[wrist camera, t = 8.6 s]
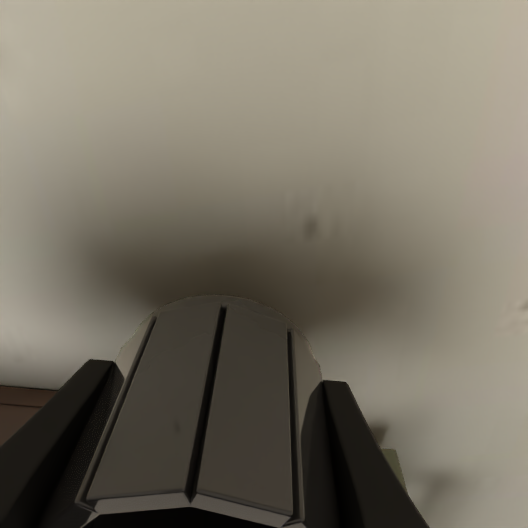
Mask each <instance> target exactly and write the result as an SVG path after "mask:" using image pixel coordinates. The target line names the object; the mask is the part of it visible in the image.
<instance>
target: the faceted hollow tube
mask: <svg viewBox="0 0 528 528" xmlns="http://www.w3.org/2000/svg"><path fill="white" fill-rule="evenodd" d="M37 528H341V524H340V516H339V508H338V500H337V492H336V484H335V477H334V469H333V461H332V453H331V445H330V439H329V433H328V427H327V419H326V411H325V403H324V395H323V387H322V375H321V371H320V365H319V364H318V363H317V361H316V360H315V358H314V356H313V353H312V349H311V347H310V345H309V343H308V341H307V339H306V338H305V336H304V335H303V333H302V332H301V331H300V329H299V328H298V327H297V326H296V325H295V324H294V323H293V322H292V321H290V320H289V319H288V318H286V317H285V316H284V315H283V314H281V313H279V312H278V311H276V310H274V309H273V308H270V307H268V306H266V305H264V304H262V303H259V302H256V301H253V300H250V299H246V298H241V297H237V296H229V295H199V296H192V297H188V298H183V299H180V300H177V301H174V302H171V303H169V304H167V305H165V306H163V307H161V308H159V309H158V310H156V311H155V312H153V313H152V314H150V315H149V316H148V317H147V318H146V319H145V320H144V321H143V322H142V323H141V324H140V326H139V327H138V328H137V330H136V331H135V333H134V335H133V336H132V337H131V338H130V339H129V340H128V341H127V342H126V343H125V345H124V346H123V347H122V348H121V350H120V352H119V354H118V356H117V358H116V360H115V362H114V364H113V367H112V369H111V371H110V373H109V375H108V377H107V379H106V381H105V384H104V386H103V388H102V390H101V392H100V394H99V396H98V398H97V401H96V403H95V405H94V407H93V409H92V411H91V413H90V415H89V418H88V420H87V422H86V424H85V426H84V428H83V430H82V432H81V435H80V437H79V439H78V441H77V443H76V445H75V447H74V449H73V452H72V454H71V456H70V458H69V460H68V462H67V464H66V466H65V469H64V471H63V473H62V475H61V477H60V479H59V481H58V483H57V486H56V488H55V490H54V492H53V494H52V496H51V498H50V500H49V503H48V505H47V507H46V509H45V511H44V513H43V515H42V517H41V520H40V522H39V524H38V526H37Z"/></svg>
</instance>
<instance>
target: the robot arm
mask: <svg viewBox="0 0 528 528" xmlns="http://www.w3.org/2000/svg"><path fill="white" fill-rule="evenodd" d="M113 364H114V362H113V361H104V360H93V359H90V360H88V361H87V362H86V363H85V364H84V365H83V366H82V367H81V368H80V369H79V370H78V371H77V372H76V373H75V374H74V375H73V376H72V377H71V378H70V379H69V380H68V381H67V382H66V383H65V384H64V386H63V387H62V388H61V389H60V390H59V391H58V392H57V393H56V394H55V395H54V396H53V397H52V398H51V399H50V400H49V401H48V402H47V403H46V404H45V405H44V406H43V407H42V408H40V409H39V410H38V411H37V412H36V413H35V414H34V415H33V416H32V417H31V418H30V419H29V420H28V421H27V422H26V423H25V424H24V425H23V426H22V427H21V428H20V429H19V430H18V431H16V432H15V433H14V434H13V435H12V436H11V437H10V438H9V439H8V440H7V441H5V442H4V443H3V444H2V445H1V446H0V528H37V526H38V524H39V522H40V520H41V517H42V515H43V513H44V511H45V509H46V507H47V505H48V503H49V500H50V498H51V496H52V494H53V492H54V490H55V488H56V486H57V483H58V481H59V479H60V477H61V475H62V473H63V471H64V469H65V466H66V464H67V462H68V460H69V458H70V456H71V454H72V452H73V449H74V447H75V445H76V443H77V441H78V439H79V437H80V435H81V432H82V430H83V428H84V426H85V424H86V422H87V420H88V418H89V415H90V413H91V411H92V409H93V407H94V405H95V403H96V401H97V398H98V396H99V394H100V392H101V390H102V388H103V386H104V384H105V381H106V379H107V377H108V375H109V373H110V371H111V369H112V367H113ZM322 387H323V395H324V403H325V411H326V419H327V427H328V433H329V439H330V445H331V453H332V461H333V469H334V477H335V484H336V492H337V500H338V508H339V516H340V524H341V528H430V527H429V526H428V525H427V523H426V522H425V520H424V519H423V517H422V516H421V514H420V513H419V511H418V510H417V508H416V507H415V505H414V503H413V502H412V500H411V499H410V497H409V495H408V494H407V492H406V491H405V489H404V488H403V486H402V484H401V483H400V481H399V479H398V478H397V476H396V474H395V473H394V471H393V469H392V468H391V466H390V464H389V462H388V461H387V459H386V457H385V455H384V454H383V452H382V450H381V448H380V447H379V445H378V443H377V441H376V439H375V438H374V436H373V434H372V432H371V430H370V428H369V426H368V424H367V422H366V420H365V419H364V417H363V415H362V413H361V411H360V409H359V407H358V404H357V402H356V400H355V398H354V396H353V394H352V392H351V389H350V387H349V385H348V384H347V383H346V382H339V381H328V380H323V382H322Z"/></svg>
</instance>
